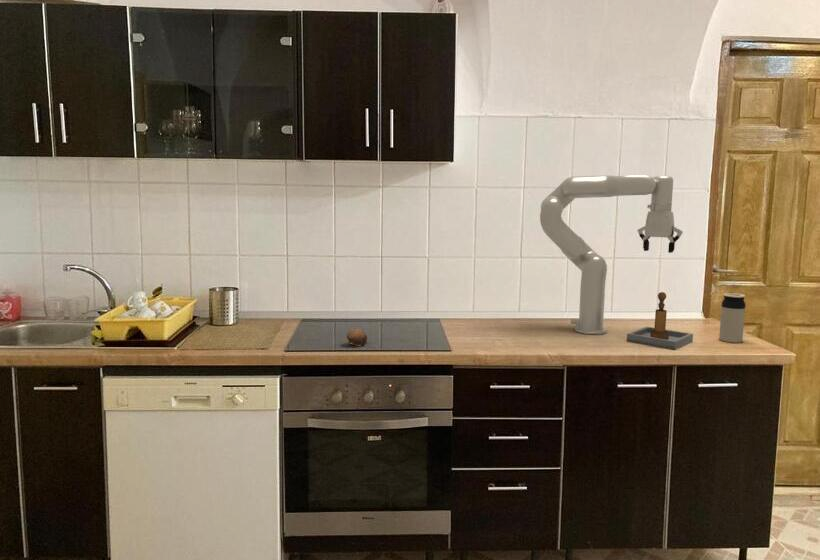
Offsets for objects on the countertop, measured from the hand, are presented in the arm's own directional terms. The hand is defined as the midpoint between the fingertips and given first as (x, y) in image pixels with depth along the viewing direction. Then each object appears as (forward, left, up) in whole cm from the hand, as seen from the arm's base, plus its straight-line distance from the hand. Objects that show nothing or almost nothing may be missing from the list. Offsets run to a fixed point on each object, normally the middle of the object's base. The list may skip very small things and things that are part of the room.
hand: (658, 251), depth 241 cm
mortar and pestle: (+7, -11, -32) cm, 35 cm away
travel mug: (+26, +10, -34) cm, 44 cm away
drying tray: (+7, -11, -33) cm, 36 cm away
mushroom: (-71, -96, -34) cm, 124 cm away
